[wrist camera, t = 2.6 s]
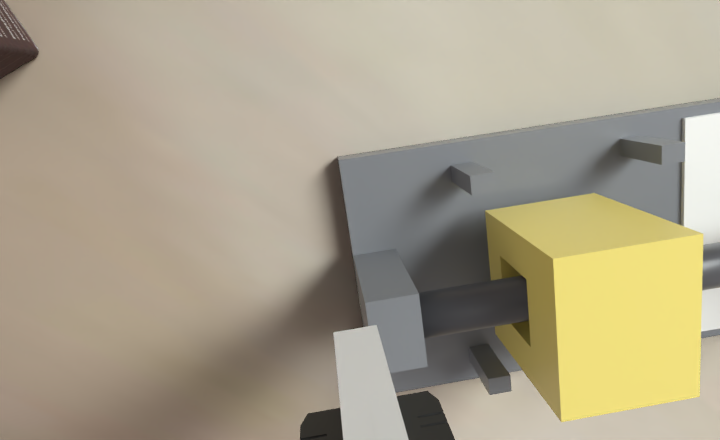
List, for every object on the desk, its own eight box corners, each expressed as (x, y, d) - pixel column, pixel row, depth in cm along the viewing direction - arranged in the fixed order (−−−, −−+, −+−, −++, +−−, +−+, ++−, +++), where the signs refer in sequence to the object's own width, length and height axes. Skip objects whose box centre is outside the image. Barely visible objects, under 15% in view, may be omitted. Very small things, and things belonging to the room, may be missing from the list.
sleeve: (484, 210, 23) (553, 259, 17) (594, 193, 24) (703, 233, 17) (495, 333, 25) (561, 422, 18) (597, 315, 25) (699, 396, 19)
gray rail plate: (337, 156, 25) (346, 182, 18) (841, 79, 26) (1021, 76, 19) (372, 383, 28) (391, 475, 21) (821, 304, 29) (971, 367, 22)
